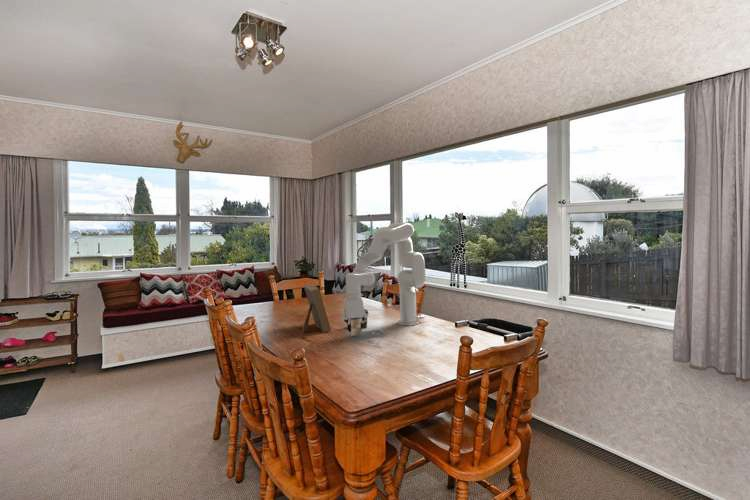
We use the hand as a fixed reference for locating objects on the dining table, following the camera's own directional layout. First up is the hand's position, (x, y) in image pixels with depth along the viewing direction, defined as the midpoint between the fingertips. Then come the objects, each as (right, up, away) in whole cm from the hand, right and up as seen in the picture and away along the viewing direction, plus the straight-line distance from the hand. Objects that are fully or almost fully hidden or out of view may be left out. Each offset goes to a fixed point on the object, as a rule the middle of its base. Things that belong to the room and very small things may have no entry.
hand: (354, 330), depth 202 cm
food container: (+2, -2, +20) cm, 20 cm away
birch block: (0, -2, 0) cm, 2 cm away
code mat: (+6, -3, +2) cm, 7 cm away
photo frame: (-25, -3, +19) cm, 31 cm away
